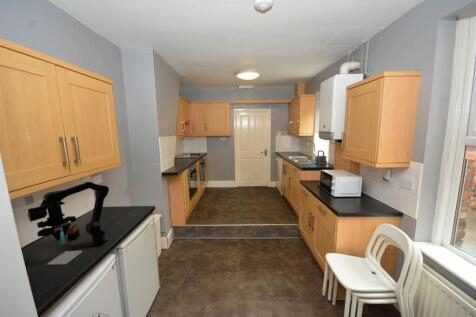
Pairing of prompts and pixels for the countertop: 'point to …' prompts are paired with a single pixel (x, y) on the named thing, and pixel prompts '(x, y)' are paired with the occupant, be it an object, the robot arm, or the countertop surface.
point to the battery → (73, 232)
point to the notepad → (64, 258)
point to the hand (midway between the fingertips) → (61, 239)
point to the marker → (61, 237)
